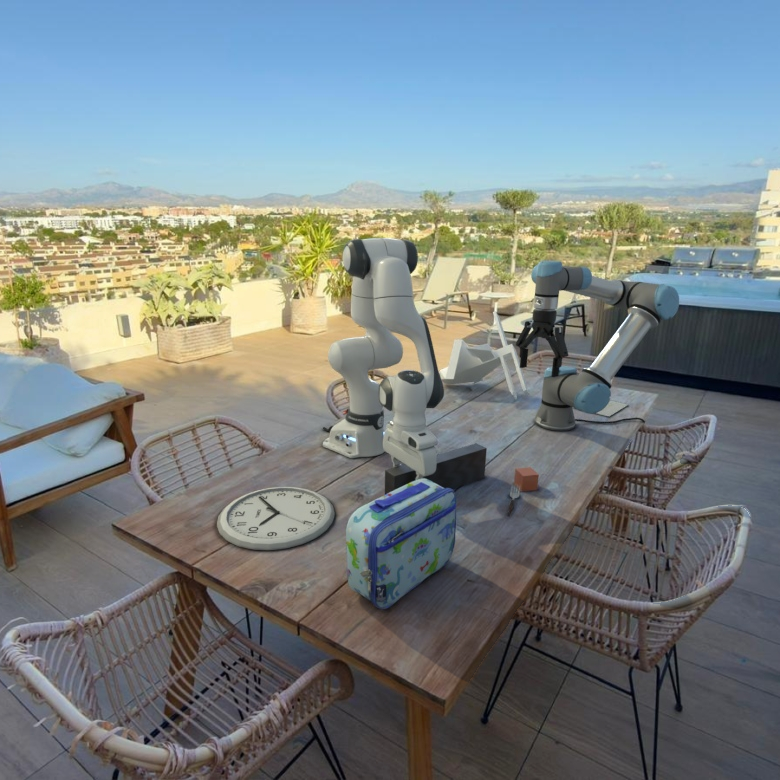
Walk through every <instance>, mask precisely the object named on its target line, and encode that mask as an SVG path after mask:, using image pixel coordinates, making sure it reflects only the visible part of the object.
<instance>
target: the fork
mask: <svg viewBox="0 0 780 780" xmlns="http://www.w3.org/2000/svg"><path fill="white" fill-rule="evenodd" d="M513 485H514V483H512V485H511V488H510V492H509V497H510V498H512V499H511V501H510V503H509V505H508V511H507V512H508V513H507V517H510V514H511V513H512V511H513V509H514V503H515V502H514V501H515V499H518V498H519V497H520V492H521V490H520V487H519V488H518V485H517V486H514V487H513Z"/></svg>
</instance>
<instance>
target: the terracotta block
mask: <svg viewBox="0 0 780 780" xmlns="http://www.w3.org/2000/svg"><path fill="white" fill-rule="evenodd" d="M514 470H515V471H514V478H513V479H514V480H513V485H514V486H515V487H517V485H518V487H517V489H519V487H520V492H531V491H538V485H539V478H540V477H539V476H540V474H539V473H538V472H537V471H536V470H535V469H533V468H532V467H531V466H529V467H528V466H527V467H520V468H519V467H518V468H517V467H516V468H515V469H514Z"/></svg>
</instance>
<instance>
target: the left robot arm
mask: <svg viewBox="0 0 780 780" xmlns="http://www.w3.org/2000/svg"><path fill="white" fill-rule="evenodd" d="M342 262H343V268H344V270H345V272H346V273H347V274H348V275H349V276H351V277H352V283H351V284H352V285H351V295H350V298H351V299H350V317H351V319H352V321H353V322H354V323H355V324H356V325H358V326H359V327H362V328H364V331H365V336H358V337H348V338H347V337H346V338H344V339H340V340H337V341H334V342H332V343H331V345H330V347H329V349H328V352H327V359H328V363H329V365H330V367H331V369H333V370H334V371H335V372H336V373H338V374H339V375H340V376H341V377H342V378H343V379H344V381H345V383H346V385H347V388H348V389H347V390H348V397H349V407H348V408H347V409H345V410H344V411H343V412H342V415H343V416H344V415H345V417H344V418H343V419H342V420H340V421H338V422H337V423H336V424H334V425H331V426H329V427H328V428H327V427H325V426H323V427H322V430H324V431H325V432H329V435H328V437H327V438H325V440H323V441H322V447H323V448H326V449H327V450H331V451H333V452H335V453H336V454H337V453H338V454H340V455H341V456H344V457H347V458H349V459H357V458H368V457H369V458H370V457H377V456H380V455H382V454H383V453H387V454H388V455H390V460H391V462H392V466H393V467H397V466H400V465H402V464H401V463H403V465H404V464H405V465H407V466H408V467H410V468H411V469H413V470H415V471H416V474H417V477H415V478H414V479H413V480H414V481H416V480H418V479H422V478H423V477H425V476H429V475H432V474H434V472H435V471H436V465H437V455H438V453H437V449H436V446H437V445H438V437H436V435H435V434H434V433H433V432H432V431H431V429H430V428H429V427H428V425H427V419H426V410H427V409H434V408H436V407H438V405H439V404H441V402H442V400H443V399H444V397H445V387H444V382H443V381H442V380H441V376H440V372H439V368H438V367H439V366H438V363H437V359H436V354H435V350H434V349H435V348H434V345H433V340H432V335H431V333H430V332H431V331H430V328H429V325H428V322H427V320H426V318H425V317H423V316H422V315H420V313H419V312H418V310H417V307H416V304H415V301H414V288H413V282H412V277H411V274H413V273H414V271H415V270H416V269H417V266H418V262H419V254H418V249H417V247H416V245H415V243H414V242H413V241H410V240H408V239H403V238H401V239H396V238H389V237H379V238H366V239H361V238H355V239H351V240H349V241H347V243H346V244H344V247H343V252H342ZM393 333H396V334H399V335H402V336H404V337H406V338H408V339H409V340H411V342H412V343H413V344H414V346H415V350H416V354H417V358H418V363H419V369H420V371H418V370H413V369H404V370H401V371H398V372H397V373H396V375H395V374H394V375H389V376H385V377H383V379H382V380H381V382H380V383H379V382H377V381H376V380H373V379H371V378H370V377H369V371H374V370H379V369H387V368H391V367H393V366H396V365H398V364H399V363H401V361H402V359H403V356H404V347H403V344H402V342H401V340H400V339H399V338H398V337H397V336H396V335H394V334H393ZM384 408H385V409H386V410H387V411H389V412H392V413H393V418H392V420H389V421H388V422H387V423H386V425H385V429H384V423H385V410H384ZM393 467H392V468H393Z"/></svg>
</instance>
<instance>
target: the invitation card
mask: <svg viewBox="0 0 780 780" xmlns="http://www.w3.org/2000/svg"><path fill="white" fill-rule="evenodd" d="M628 406H629V404H627V403H623V402H618V401H614V400H610V401H609V403H608V404H607V406H606V407H605V408H604V409H603V410H601V411H600V412H597V413H595V414H596V415H600V416H604V417H608V418H609V417H611V416H613V415H614V414H616V413H617V412H619V411H621V410H623V409H624V408H626V407H628Z"/></svg>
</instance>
